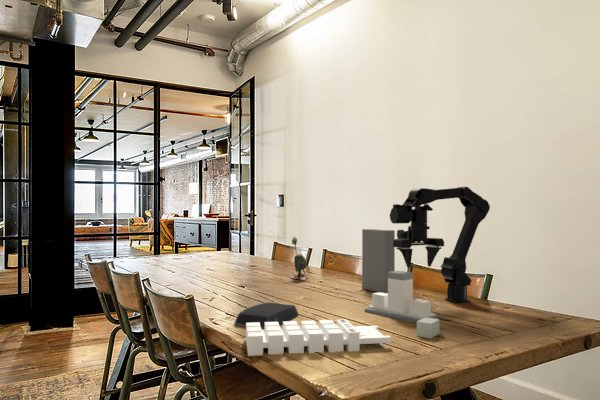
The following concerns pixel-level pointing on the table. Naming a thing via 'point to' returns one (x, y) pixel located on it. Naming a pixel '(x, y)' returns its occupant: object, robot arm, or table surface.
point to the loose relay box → (428, 327)
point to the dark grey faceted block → (266, 314)
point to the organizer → (310, 336)
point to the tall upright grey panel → (377, 258)
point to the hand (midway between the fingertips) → (418, 267)
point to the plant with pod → (299, 264)
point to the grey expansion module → (400, 290)
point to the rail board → (416, 313)
